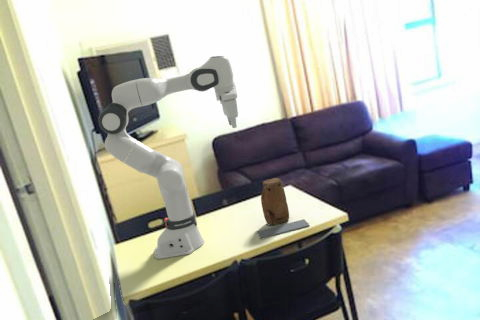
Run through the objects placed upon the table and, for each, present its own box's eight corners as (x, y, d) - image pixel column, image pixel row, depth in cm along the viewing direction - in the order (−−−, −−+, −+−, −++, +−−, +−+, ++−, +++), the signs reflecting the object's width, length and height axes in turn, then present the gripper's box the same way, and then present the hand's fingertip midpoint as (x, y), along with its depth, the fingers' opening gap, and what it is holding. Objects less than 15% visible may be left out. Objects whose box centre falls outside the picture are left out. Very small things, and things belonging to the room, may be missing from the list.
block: (284, 216, 197) (277, 176, 193) (291, 220, 190) (284, 179, 186) (264, 223, 194) (255, 182, 190) (270, 227, 187) (262, 186, 183)
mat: (260, 238, 178) (260, 237, 178) (257, 232, 185) (257, 231, 185) (309, 226, 181) (309, 225, 180) (304, 220, 188) (304, 219, 188)
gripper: (216, 94, 186) (223, 125, 189) (221, 97, 166) (228, 131, 169) (230, 91, 187) (236, 122, 190) (237, 94, 167) (243, 127, 170)
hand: (233, 126), depth 179 cm, fingers open, 8 cm apart
